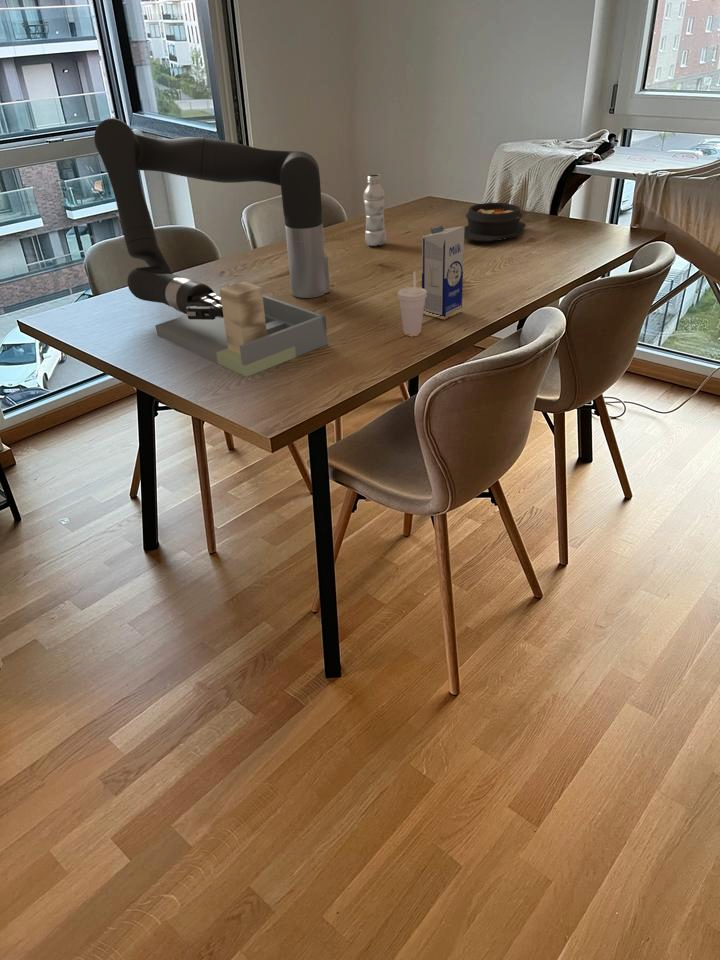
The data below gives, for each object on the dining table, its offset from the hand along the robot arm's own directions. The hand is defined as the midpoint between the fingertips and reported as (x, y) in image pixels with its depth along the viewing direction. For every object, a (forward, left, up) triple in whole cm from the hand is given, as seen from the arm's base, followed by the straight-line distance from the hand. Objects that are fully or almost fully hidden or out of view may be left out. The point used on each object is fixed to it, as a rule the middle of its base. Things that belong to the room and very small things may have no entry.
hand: (236, 315), depth 157 cm
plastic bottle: (-60, -61, -9) cm, 86 cm away
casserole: (-95, -51, -9) cm, 108 cm away
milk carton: (-49, -1, -9) cm, 50 cm away
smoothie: (-37, +7, -9) cm, 39 cm away
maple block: (-1, +3, -7) cm, 7 cm away
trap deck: (-2, -9, -9) cm, 13 cm away
